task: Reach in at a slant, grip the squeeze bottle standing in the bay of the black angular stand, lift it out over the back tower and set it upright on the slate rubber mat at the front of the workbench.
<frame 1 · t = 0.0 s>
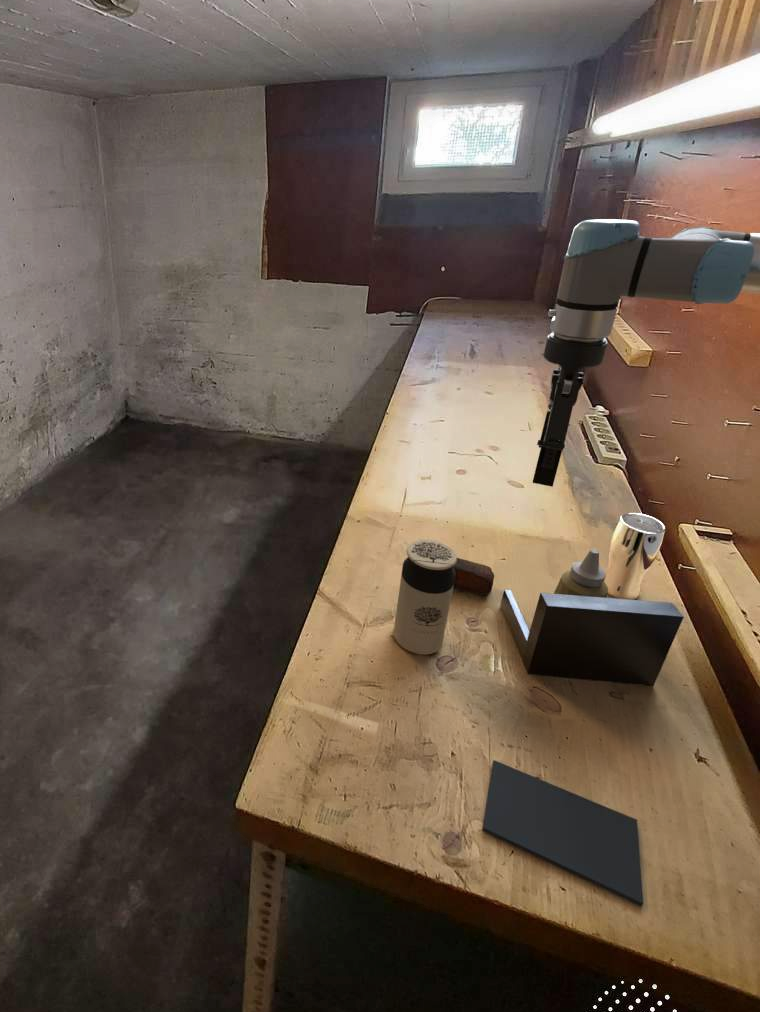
hand: (545, 465, 90), 29 cm above the table, tool pointing down, fingers open, 13 cm apart
travel mug: (417, 638, 96), on the table
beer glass: (618, 590, 105), on the table
mat: (559, 826, 68), on the table
squeeze bottle: (566, 638, 95), on the table
black angular stand: (567, 637, 95), on the table
brick: (460, 584, 108), on the table
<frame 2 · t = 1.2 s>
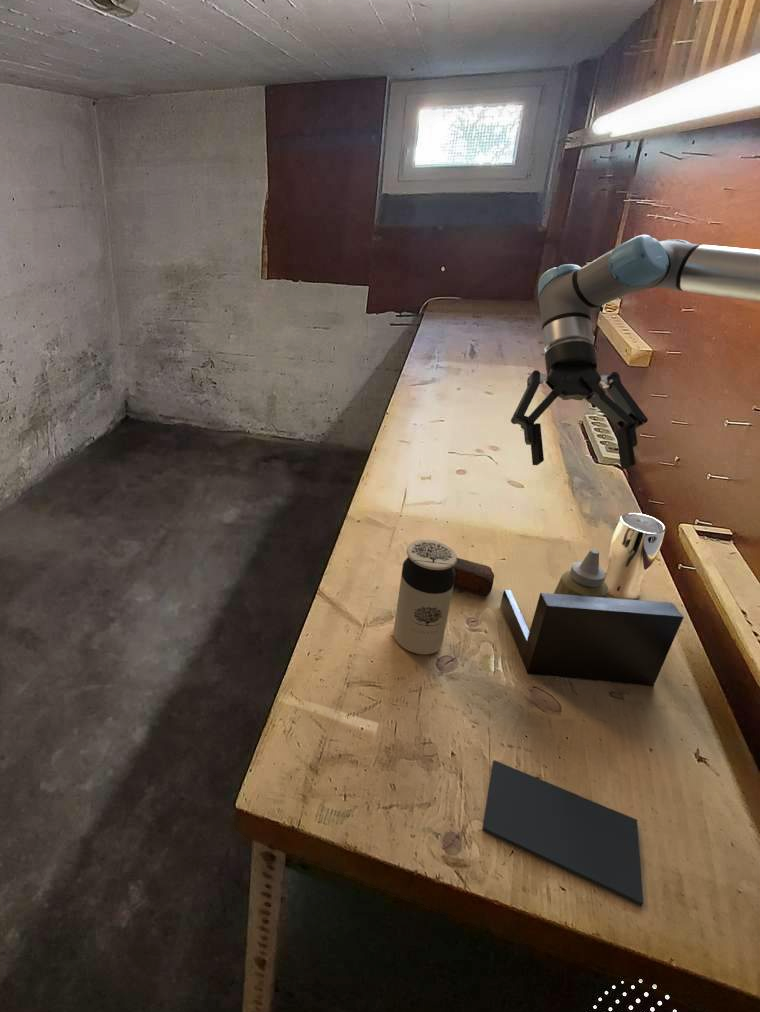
hand: (582, 465, 92), 28 cm above the table, tool tilted 45°, fingers open, 13 cm apart
nothing on the table moved.
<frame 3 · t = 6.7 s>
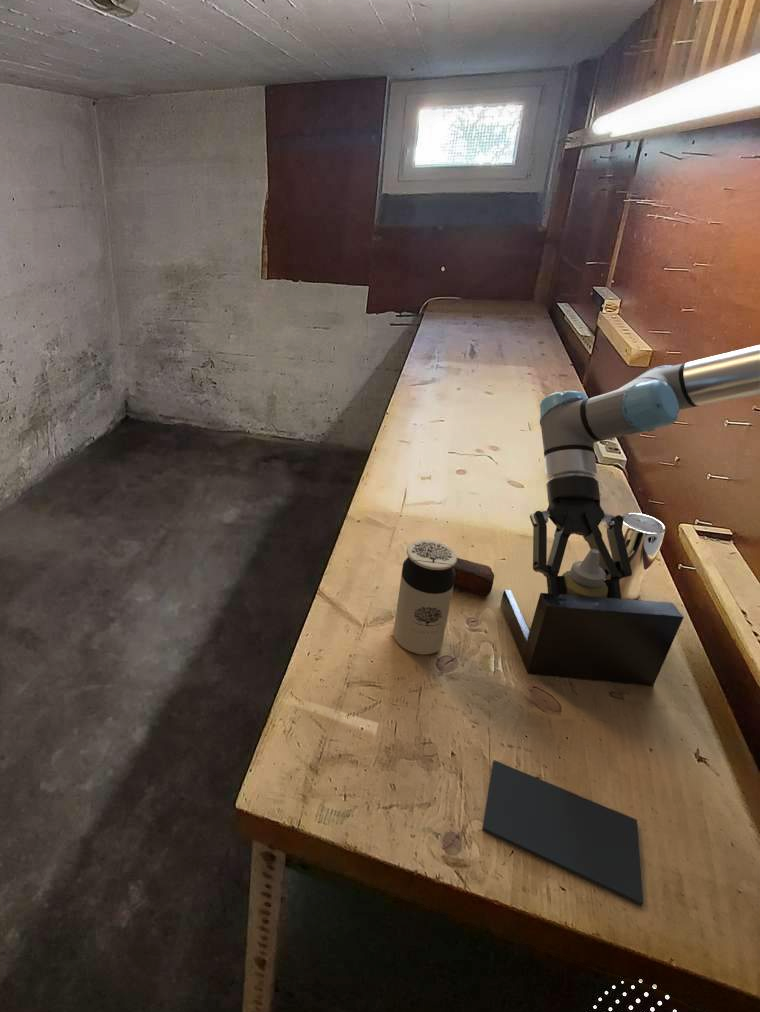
hand: (586, 620, 89), 7 cm above the table, tool tilted 45°, fingers closed on squeeze bottle, 6 cm apart
squeeze bottle: (566, 638, 95), on the table, touching gripper
everything else where it was.
when the fingers open (8 cm above the table, at t = 18.6 s): squeeze bottle stays where it is, resting on mat.
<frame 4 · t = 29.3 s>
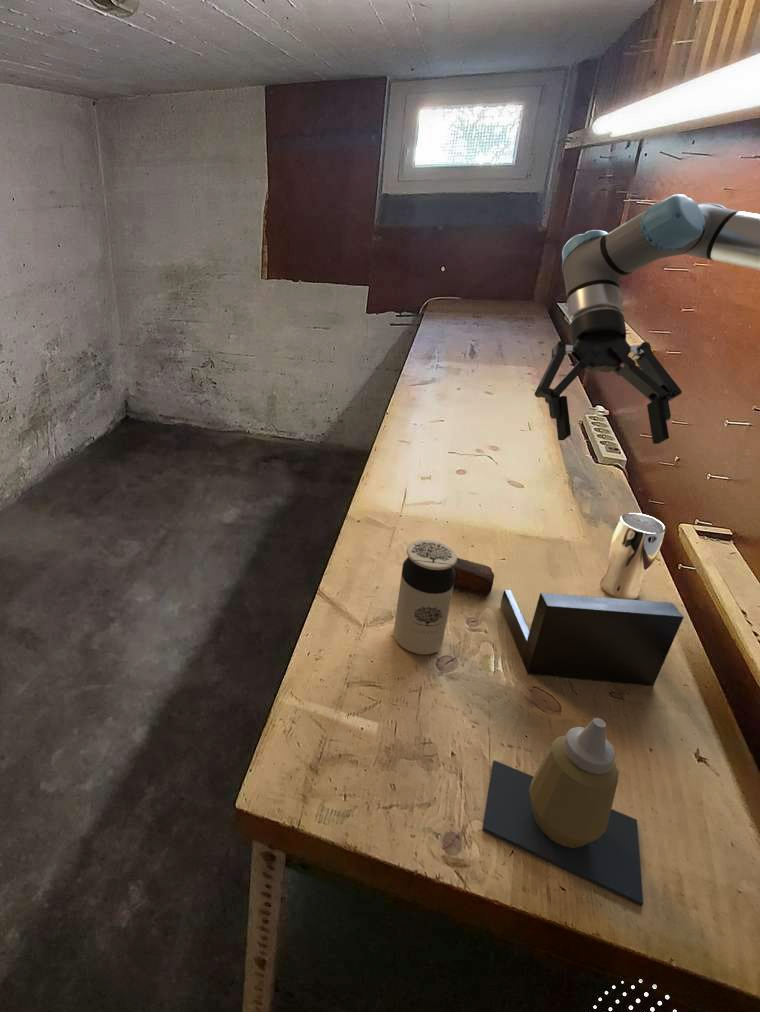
hand: (612, 439, 87), 34 cm above the table, tool tilted 45°, fingers open, 13 cm apart
squeeze bottle: (559, 823, 68), resting on mat
everything else where it was.
at the end: squeeze bottle inside the target area on the mat (0.1 cm from its centre), point 0.4 cm above the mat's base; squeeze bottle tilted 0°; the gripper is holding nothing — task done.
